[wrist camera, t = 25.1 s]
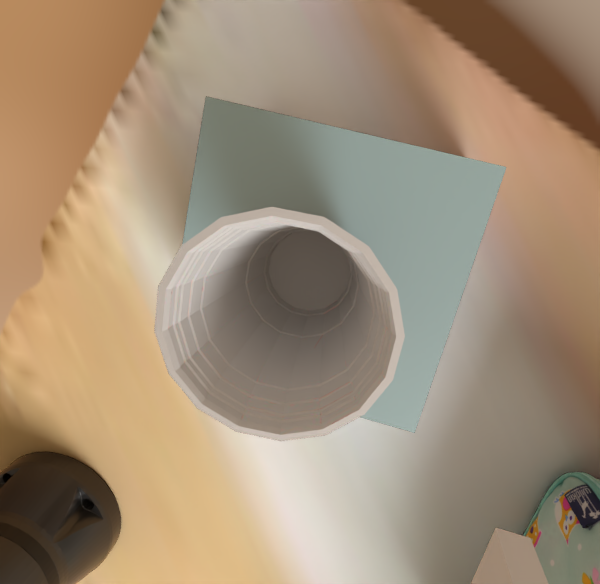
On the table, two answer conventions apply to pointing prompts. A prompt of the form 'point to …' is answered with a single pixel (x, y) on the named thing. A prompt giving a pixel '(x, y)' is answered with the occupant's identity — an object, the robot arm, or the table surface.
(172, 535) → the table surface
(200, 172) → the pale teal square panel
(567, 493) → the lunch box
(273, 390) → the plastic cup
